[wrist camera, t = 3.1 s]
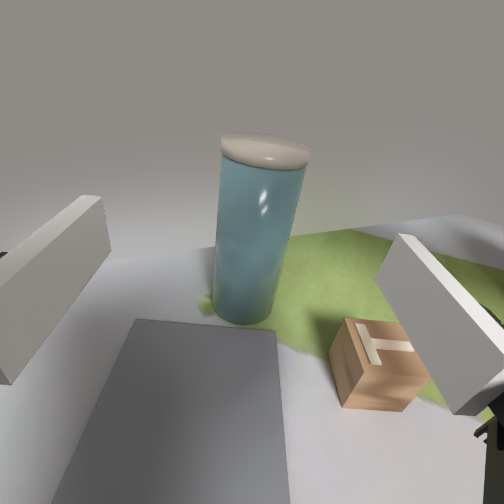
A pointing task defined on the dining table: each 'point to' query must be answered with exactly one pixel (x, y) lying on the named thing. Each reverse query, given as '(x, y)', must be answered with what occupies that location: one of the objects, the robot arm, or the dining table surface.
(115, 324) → the dining table surface
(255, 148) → the jar
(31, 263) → the robot arm
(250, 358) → the mat
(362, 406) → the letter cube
